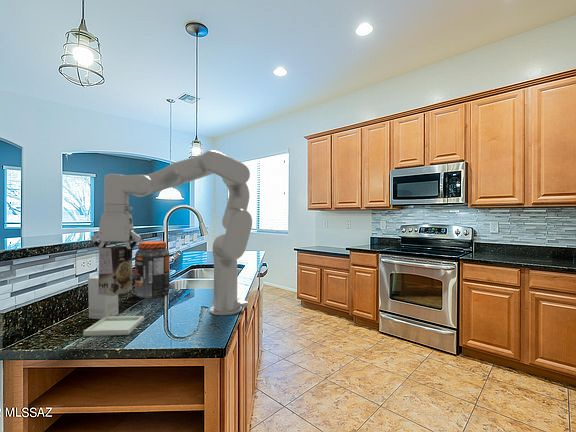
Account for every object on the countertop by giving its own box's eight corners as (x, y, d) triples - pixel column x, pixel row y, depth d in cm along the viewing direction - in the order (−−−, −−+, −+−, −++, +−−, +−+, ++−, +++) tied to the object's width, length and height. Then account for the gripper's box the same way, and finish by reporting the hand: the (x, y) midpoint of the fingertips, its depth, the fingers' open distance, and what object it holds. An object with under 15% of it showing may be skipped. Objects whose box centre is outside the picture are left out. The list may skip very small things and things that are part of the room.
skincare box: (119, 315, 121) (119, 275, 121) (104, 320, 114) (105, 278, 114) (101, 313, 123) (102, 274, 123) (87, 318, 117) (87, 277, 117)
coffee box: (114, 296, 102) (114, 247, 102) (97, 295, 104) (97, 247, 104) (133, 289, 111) (133, 245, 111) (117, 288, 113) (117, 244, 113)
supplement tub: (134, 292, 156) (134, 241, 155) (167, 289, 163) (167, 240, 163) (135, 300, 142) (135, 244, 141) (171, 296, 149) (171, 242, 149)
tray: (144, 320, 115) (144, 315, 115) (128, 334, 101) (128, 329, 101) (104, 321, 114) (105, 316, 114) (83, 335, 100) (83, 330, 100)
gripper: (146, 210, 112) (145, 258, 112) (95, 209, 110) (95, 258, 111) (138, 209, 105) (137, 261, 105) (84, 209, 103) (83, 262, 103)
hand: (116, 259), depth 108 cm, fingers closed on coffee box, 7 cm apart
